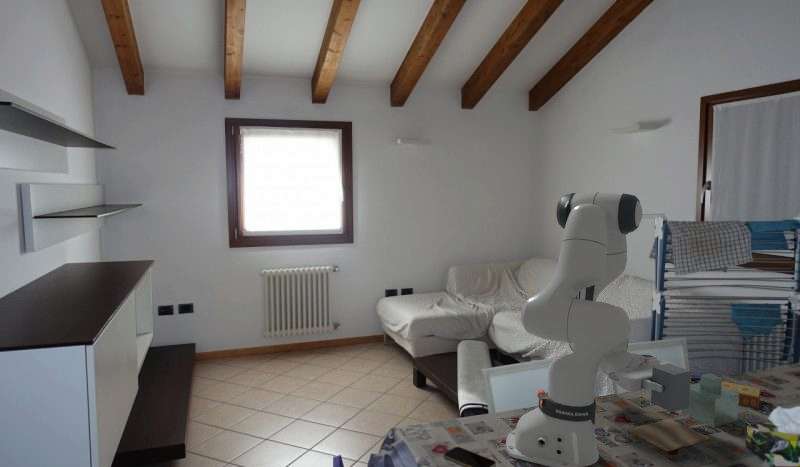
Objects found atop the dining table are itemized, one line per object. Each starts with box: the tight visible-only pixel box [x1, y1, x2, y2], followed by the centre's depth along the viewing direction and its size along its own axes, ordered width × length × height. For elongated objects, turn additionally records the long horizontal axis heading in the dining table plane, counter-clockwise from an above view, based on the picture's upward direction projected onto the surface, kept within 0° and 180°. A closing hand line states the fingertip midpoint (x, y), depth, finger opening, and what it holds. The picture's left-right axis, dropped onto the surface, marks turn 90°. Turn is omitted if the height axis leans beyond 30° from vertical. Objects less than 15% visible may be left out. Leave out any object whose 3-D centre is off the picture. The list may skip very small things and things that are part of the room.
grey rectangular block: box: [650, 362, 692, 413], centre depth 139 cm, size 6×6×10 cm
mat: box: [627, 418, 710, 453], centre depth 140 cm, size 16×12×1 cm
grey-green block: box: [681, 372, 739, 428], centre depth 151 cm, size 10×10×12 cm
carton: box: [722, 380, 762, 409], centre depth 165 cm, size 8×16×4 cm, turn 52°
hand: (673, 386), depth 138 cm, fingers closed on grey rectangular block, 6 cm apart
